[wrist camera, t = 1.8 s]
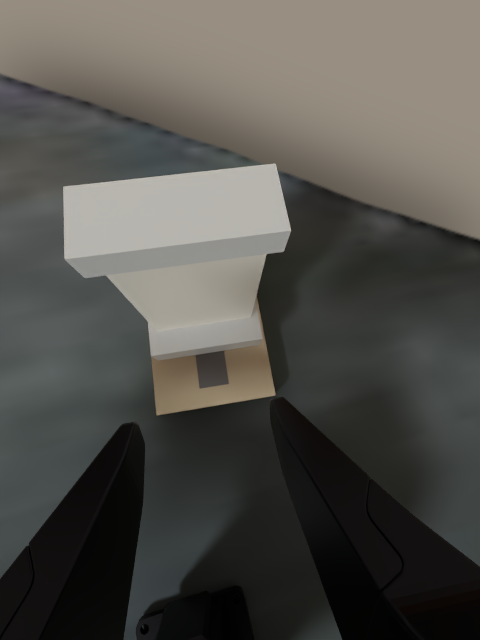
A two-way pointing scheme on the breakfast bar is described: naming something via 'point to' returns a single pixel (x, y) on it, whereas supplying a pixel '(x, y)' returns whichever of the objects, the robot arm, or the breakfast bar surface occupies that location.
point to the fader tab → (182, 251)
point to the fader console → (212, 378)
